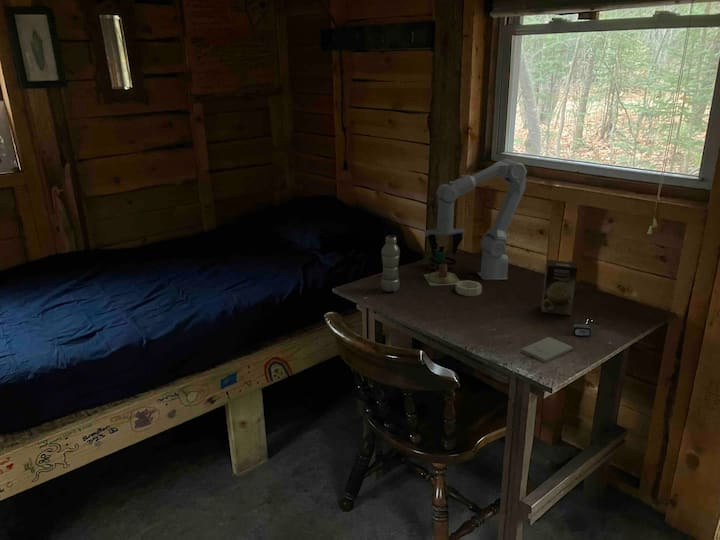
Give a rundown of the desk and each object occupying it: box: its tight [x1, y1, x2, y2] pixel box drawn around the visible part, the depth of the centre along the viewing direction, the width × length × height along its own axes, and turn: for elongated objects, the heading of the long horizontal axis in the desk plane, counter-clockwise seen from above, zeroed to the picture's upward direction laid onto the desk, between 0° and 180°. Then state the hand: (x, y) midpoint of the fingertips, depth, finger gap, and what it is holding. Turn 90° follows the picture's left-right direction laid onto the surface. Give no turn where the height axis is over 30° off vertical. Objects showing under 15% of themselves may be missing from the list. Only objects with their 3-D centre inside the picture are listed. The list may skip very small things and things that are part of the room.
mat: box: [422, 272, 461, 287], centre depth 209 cm, size 12×12×1 cm
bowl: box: [455, 280, 483, 297], centre depth 197 cm, size 8×8×3 cm
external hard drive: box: [520, 336, 574, 363], centre depth 156 cm, size 2×8×12 cm
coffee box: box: [540, 259, 578, 316], centre depth 181 cm, size 9×6×16 cm
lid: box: [428, 263, 458, 284], centre depth 208 cm, size 10×10×6 cm
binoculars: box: [428, 242, 457, 272], centre depth 220 cm, size 9×11×10 cm
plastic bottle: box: [380, 234, 401, 293], centre depth 196 cm, size 6×7×20 cm
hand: (443, 254), depth 206 cm, fingers open, 7 cm apart
